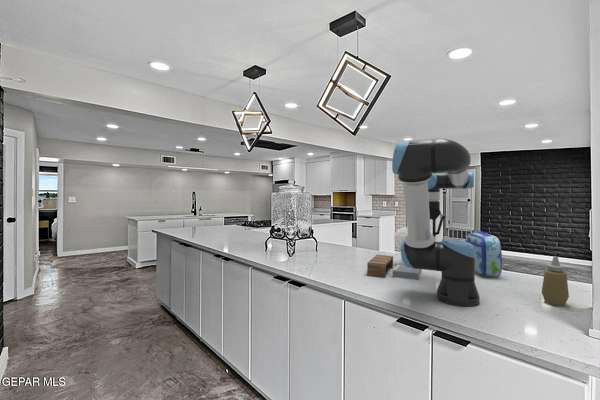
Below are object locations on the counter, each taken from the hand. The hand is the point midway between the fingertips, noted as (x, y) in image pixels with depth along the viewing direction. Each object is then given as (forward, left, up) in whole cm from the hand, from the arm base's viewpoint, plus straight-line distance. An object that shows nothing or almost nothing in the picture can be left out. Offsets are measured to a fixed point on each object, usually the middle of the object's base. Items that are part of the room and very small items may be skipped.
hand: (431, 248), depth 156 cm
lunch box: (+21, -23, -15) cm, 35 cm away
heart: (+26, +11, -15) cm, 31 cm away
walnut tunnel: (0, +25, -14) cm, 28 cm away
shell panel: (0, +11, -15) cm, 18 cm away
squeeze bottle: (-20, -44, -15) cm, 51 cm away
